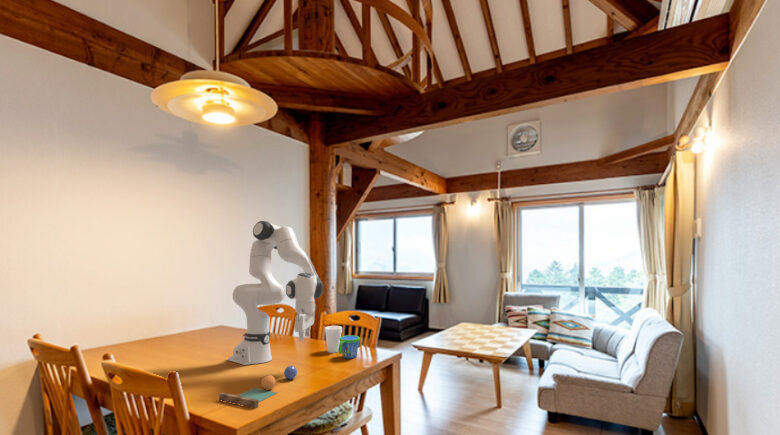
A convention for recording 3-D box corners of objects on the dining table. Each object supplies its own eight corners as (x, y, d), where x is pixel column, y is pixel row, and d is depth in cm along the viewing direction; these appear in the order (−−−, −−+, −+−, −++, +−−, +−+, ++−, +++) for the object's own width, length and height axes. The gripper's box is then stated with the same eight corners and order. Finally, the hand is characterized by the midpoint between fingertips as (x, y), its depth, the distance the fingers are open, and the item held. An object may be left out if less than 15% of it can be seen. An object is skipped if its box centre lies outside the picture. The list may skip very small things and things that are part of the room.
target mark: (231, 398, 150) (231, 398, 150) (254, 388, 161) (254, 387, 161) (255, 403, 145) (255, 403, 145) (277, 393, 156) (277, 392, 156)
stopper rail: (218, 400, 148) (219, 393, 148) (222, 399, 149) (222, 392, 150) (255, 408, 141) (255, 401, 141) (258, 407, 142) (258, 400, 142)
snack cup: (345, 362, 198) (345, 341, 198) (331, 358, 204) (331, 338, 205) (366, 355, 209) (367, 336, 210) (353, 352, 216) (353, 333, 217)
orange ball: (258, 390, 158) (258, 376, 159) (267, 386, 163) (268, 372, 164) (268, 392, 156) (269, 378, 156) (278, 388, 161) (278, 374, 161)
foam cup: (322, 353, 214) (322, 329, 215) (327, 348, 223) (328, 325, 224) (339, 353, 213) (339, 329, 214) (343, 349, 222) (344, 326, 223)
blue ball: (281, 380, 171) (281, 366, 171) (289, 376, 176) (289, 363, 176) (291, 381, 168) (291, 368, 169) (299, 377, 174) (299, 365, 174)
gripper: (305, 311, 173) (305, 343, 171) (317, 305, 193) (316, 333, 192) (291, 311, 173) (290, 343, 172) (304, 305, 193) (304, 333, 192)
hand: (304, 338), depth 182 cm, fingers open, 8 cm apart
